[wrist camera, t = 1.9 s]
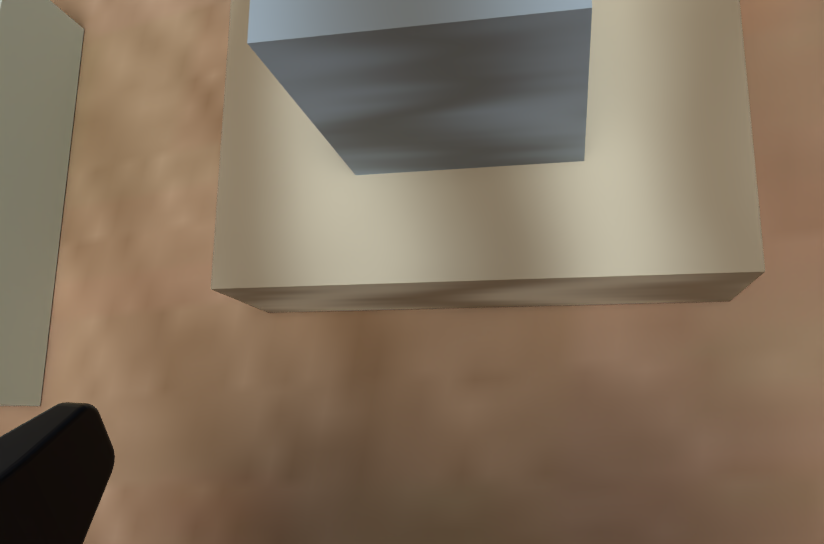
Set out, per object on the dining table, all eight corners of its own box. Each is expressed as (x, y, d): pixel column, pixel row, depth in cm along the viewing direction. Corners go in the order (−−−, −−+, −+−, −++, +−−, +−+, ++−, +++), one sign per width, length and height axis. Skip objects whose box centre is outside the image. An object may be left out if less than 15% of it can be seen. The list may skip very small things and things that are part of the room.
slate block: (355, 175, 20) (247, 43, 13) (359, 40, 21) (259, -149, 14) (583, 160, 19) (591, 7, 12) (578, 18, 20) (582, -199, 13)
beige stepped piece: (238, 328, 24) (53, 268, 15) (259, -18, 27) (112, -234, 18) (1013, 313, 20) (1362, 216, 11) (944, -101, 22) (1180, -439, 14)
